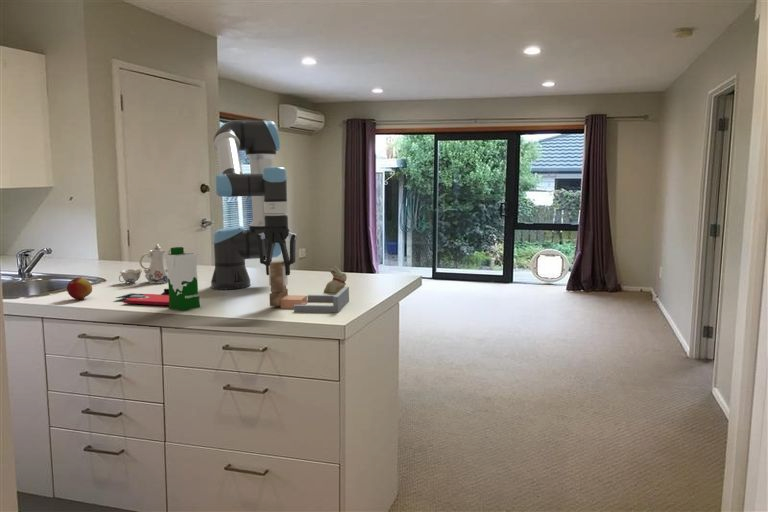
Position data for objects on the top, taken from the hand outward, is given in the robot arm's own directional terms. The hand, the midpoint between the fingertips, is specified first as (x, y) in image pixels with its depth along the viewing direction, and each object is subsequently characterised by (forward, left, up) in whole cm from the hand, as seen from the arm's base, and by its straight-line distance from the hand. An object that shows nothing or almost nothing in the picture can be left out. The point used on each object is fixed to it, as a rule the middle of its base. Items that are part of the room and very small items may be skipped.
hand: (278, 284), depth 201 cm
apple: (-76, +5, -7) cm, 76 cm away
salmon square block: (+5, 0, -7) cm, 9 cm away
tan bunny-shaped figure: (+13, +26, -7) cm, 30 cm away
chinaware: (-67, +44, -7) cm, 81 cm away
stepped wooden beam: (0, 0, -6) cm, 6 cm away
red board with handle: (-46, +4, -7) cm, 47 cm away
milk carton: (-31, -6, -7) cm, 32 cm away
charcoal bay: (+14, 0, -7) cm, 16 cm away
